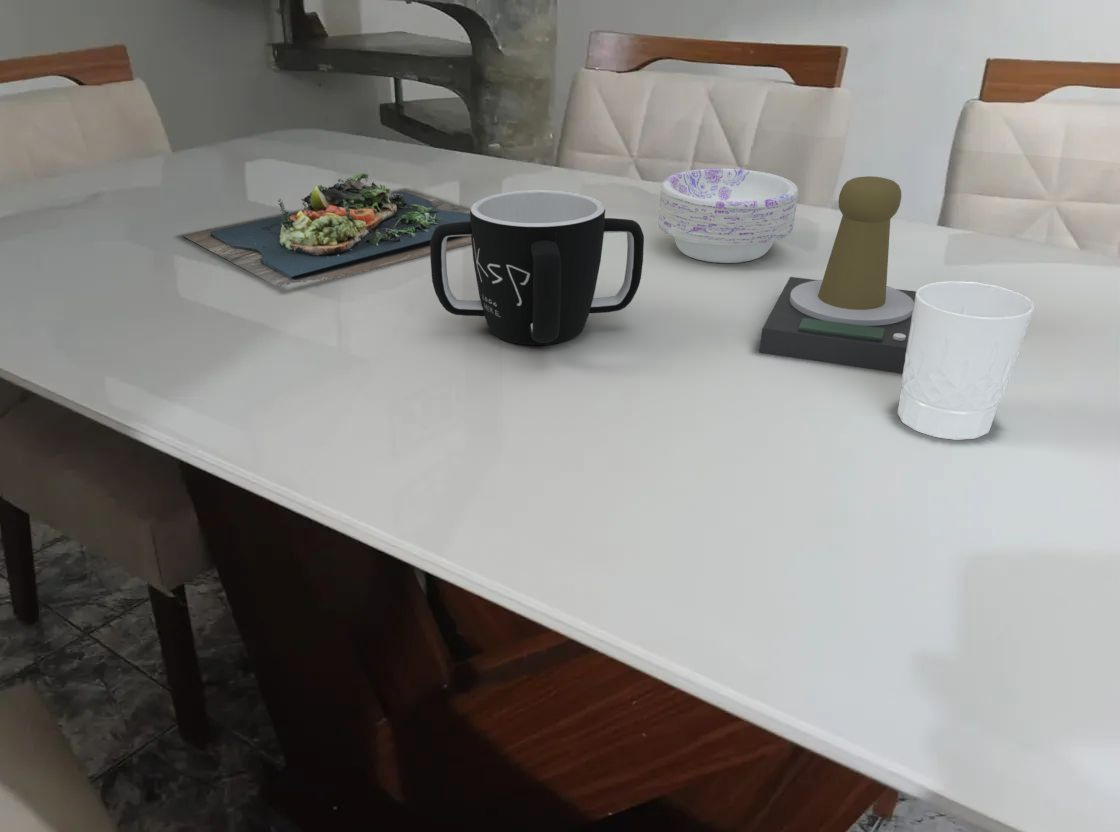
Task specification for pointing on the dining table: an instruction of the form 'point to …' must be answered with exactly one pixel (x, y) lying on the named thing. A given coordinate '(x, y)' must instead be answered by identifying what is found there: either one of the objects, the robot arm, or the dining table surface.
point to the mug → (537, 263)
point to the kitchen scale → (838, 328)
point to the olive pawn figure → (861, 245)
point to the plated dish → (336, 233)
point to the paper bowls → (726, 212)
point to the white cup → (960, 356)
